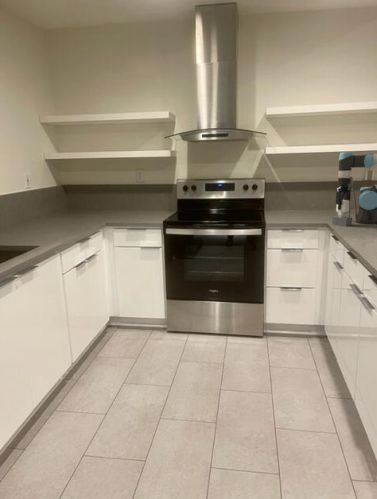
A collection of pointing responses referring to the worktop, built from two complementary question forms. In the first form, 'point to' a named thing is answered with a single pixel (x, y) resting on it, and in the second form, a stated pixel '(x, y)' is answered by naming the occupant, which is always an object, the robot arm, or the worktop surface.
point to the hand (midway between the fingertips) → (342, 214)
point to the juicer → (353, 196)
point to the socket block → (341, 221)
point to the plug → (344, 208)
